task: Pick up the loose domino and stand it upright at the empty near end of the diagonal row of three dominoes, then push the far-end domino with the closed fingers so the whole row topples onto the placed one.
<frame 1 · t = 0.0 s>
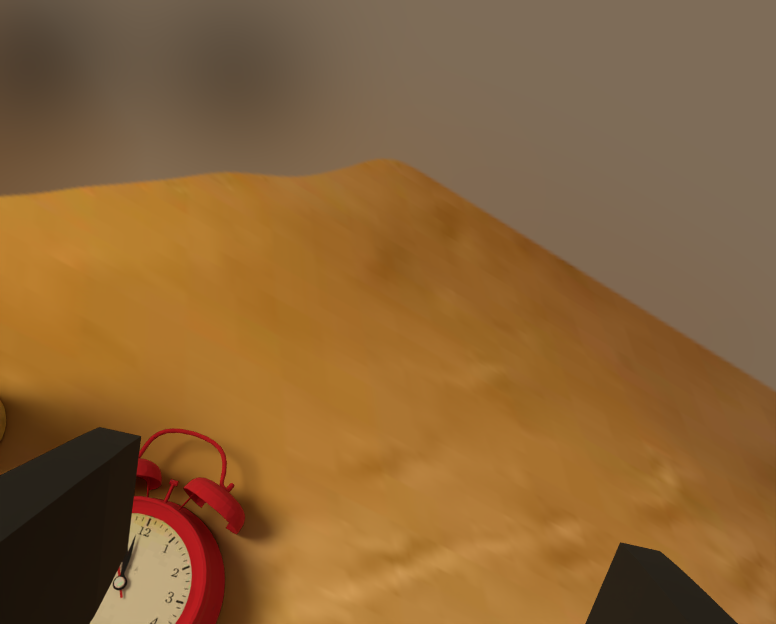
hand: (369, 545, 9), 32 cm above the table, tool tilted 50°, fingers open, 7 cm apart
alarm clock: (147, 562, 39), on the table
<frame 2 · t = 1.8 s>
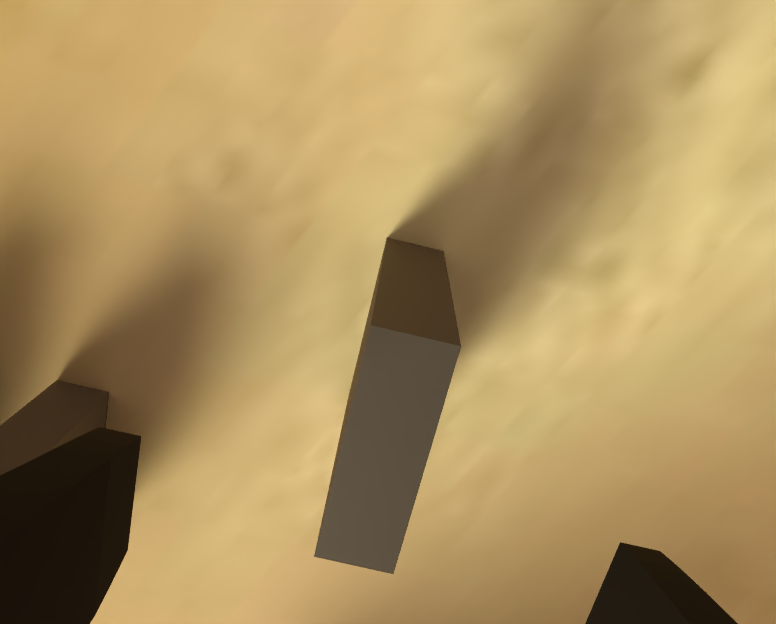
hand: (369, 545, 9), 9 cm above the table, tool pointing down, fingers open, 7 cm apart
domino 3: (76, 456, 20), on the table
loose domino: (393, 327, 18), on the table
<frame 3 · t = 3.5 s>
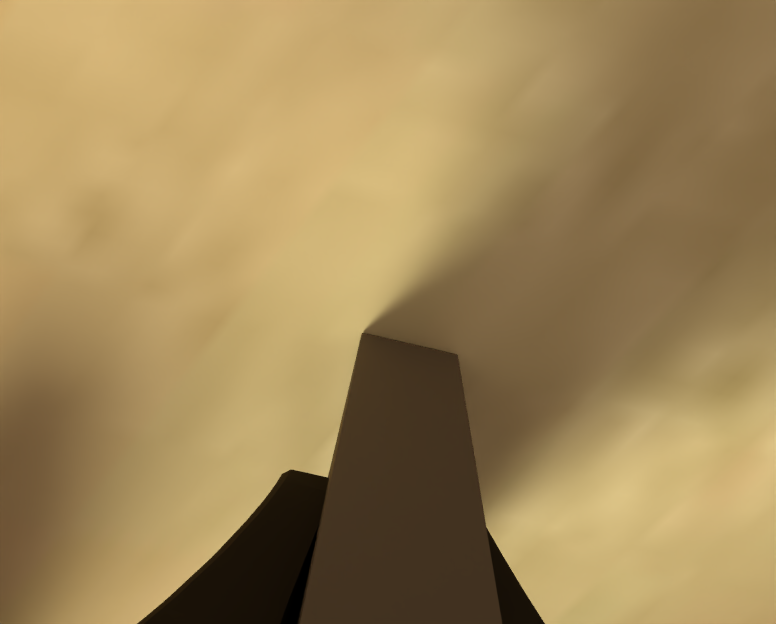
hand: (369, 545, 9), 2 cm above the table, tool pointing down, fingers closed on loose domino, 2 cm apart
loose domino: (376, 472, 11), on the table, touching gripper
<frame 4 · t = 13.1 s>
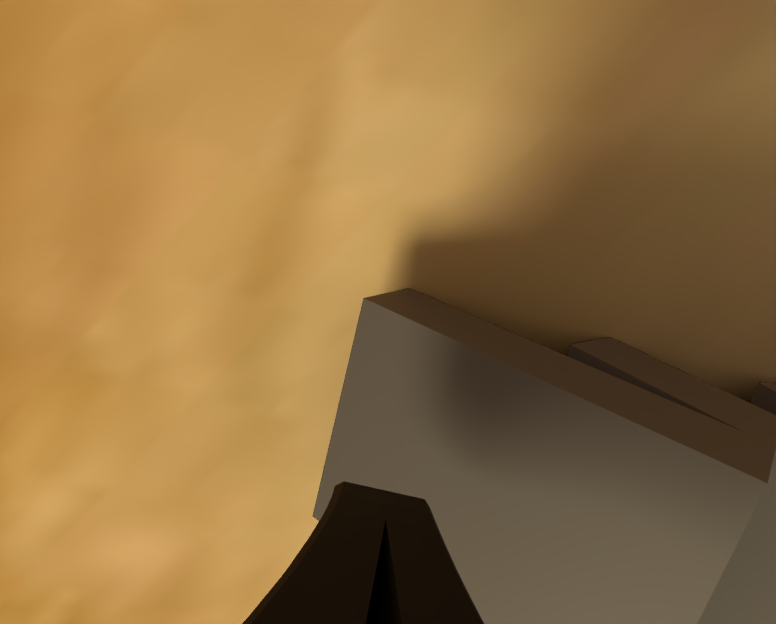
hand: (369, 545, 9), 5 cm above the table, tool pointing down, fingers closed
domino 3: (734, 483, 14), on the table, tilted 26°
domino 2: (552, 446, 14), point 1 cm above the table, tilted 45°, touching domino 1
domino 1: (360, 403, 13), point 1 cm above the table, tilted 57°, touching domino 2
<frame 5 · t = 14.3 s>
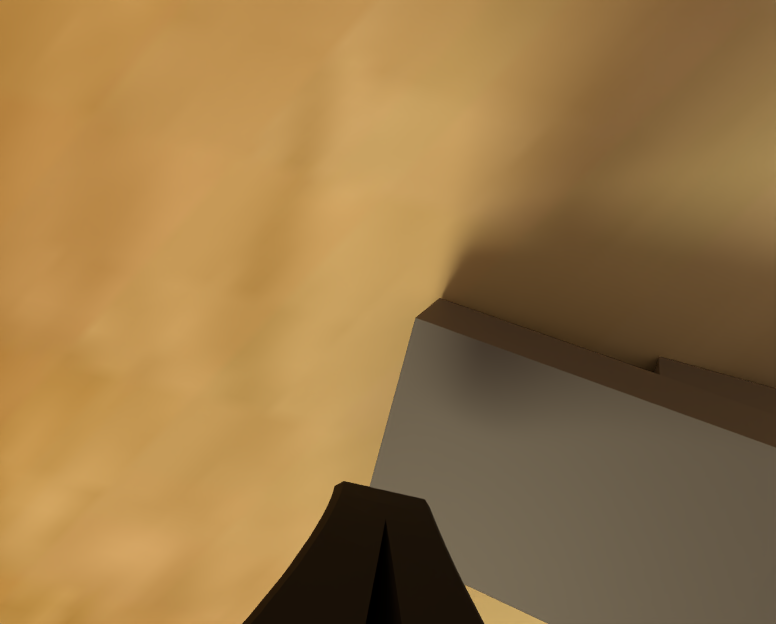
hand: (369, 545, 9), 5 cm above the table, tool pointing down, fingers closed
domino 2: (624, 474, 14), point 1 cm above the table, tilted 70°, touching domino 1, domino 3
domino 1: (397, 417, 13), point 1 cm above the table, tilted 71°, touching domino 2
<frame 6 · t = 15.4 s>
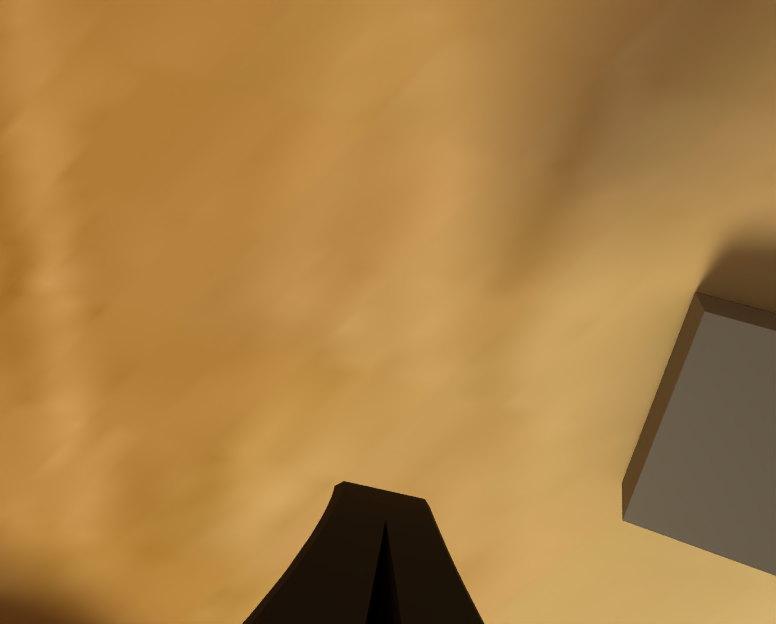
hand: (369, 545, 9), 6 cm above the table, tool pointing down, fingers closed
domino 1: (658, 407, 14), point 1 cm above the table, tilted 73°, touching domino 2
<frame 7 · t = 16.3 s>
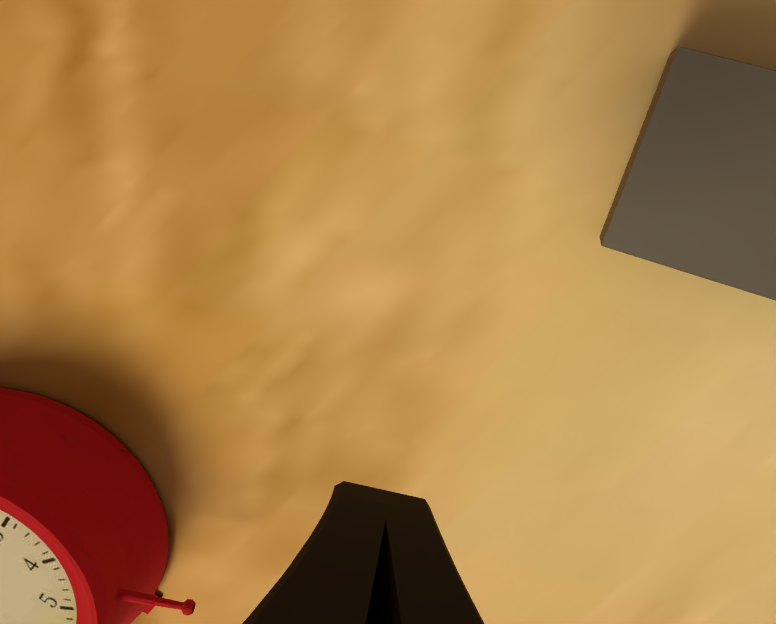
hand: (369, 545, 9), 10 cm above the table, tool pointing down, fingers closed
domino 1: (635, 150, 17), point 1 cm above the table, tilted 76°, touching domino 2
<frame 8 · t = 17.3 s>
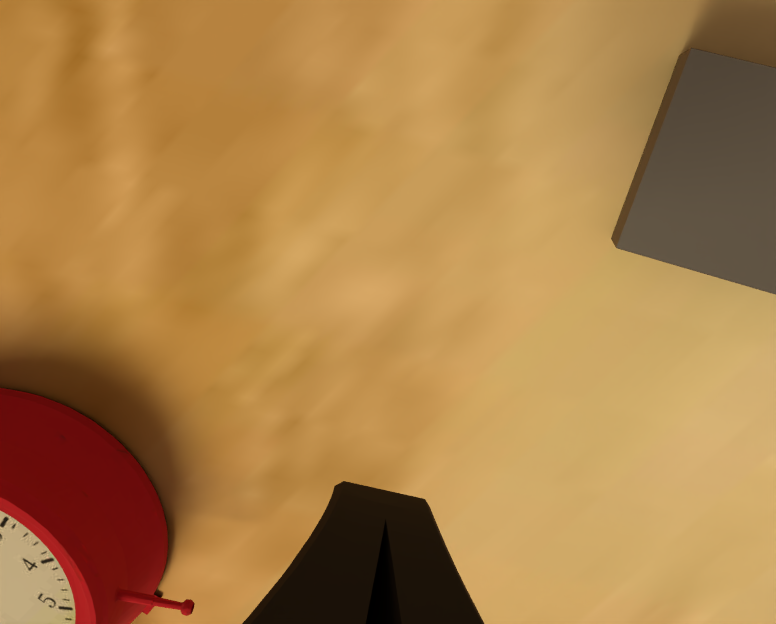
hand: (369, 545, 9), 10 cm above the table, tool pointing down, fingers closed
domino 1: (647, 152, 17), point 1 cm above the table, tilted 78°, touching domino 2
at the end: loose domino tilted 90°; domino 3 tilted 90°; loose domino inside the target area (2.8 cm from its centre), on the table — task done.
